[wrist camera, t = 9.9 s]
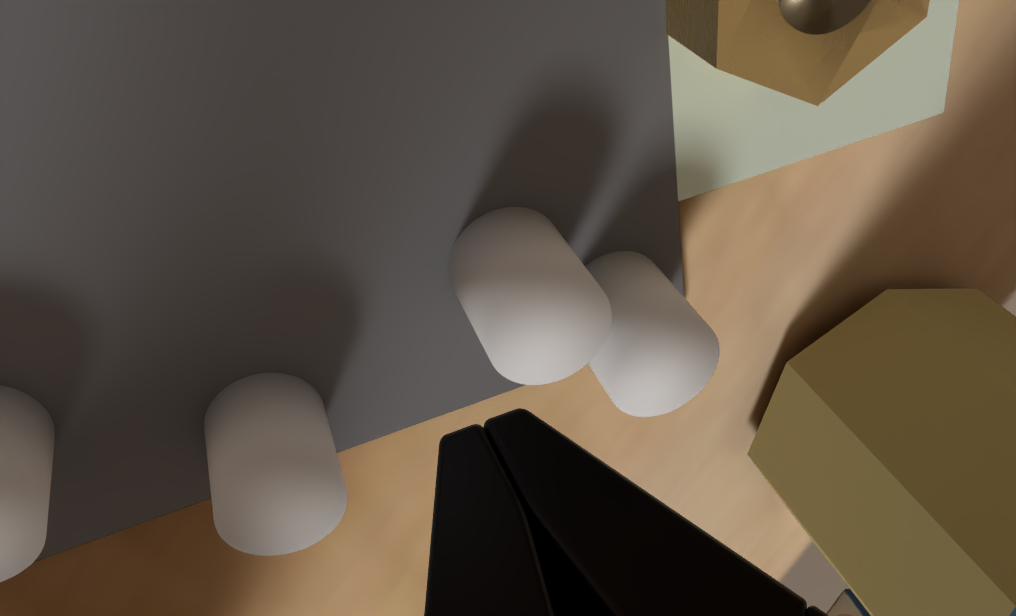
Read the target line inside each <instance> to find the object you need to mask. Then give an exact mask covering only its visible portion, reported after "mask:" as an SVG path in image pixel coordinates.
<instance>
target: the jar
mask: <svg viewBox="0 0 1016 616" xmlns="http://www.w3.org/2000/svg"><path fill="white" fill-rule="evenodd" d="M748 455H749V457H750V458H751V460H752V461H753V462H754V464H755V465H756V466H757V468H758V469H759V470H760V472H761V473H762V475H763V476H764V477H765V479H766V480H767V481H768V483H769V484H770V485H771V487H772V488H773V489H774V491H775V492H776V494H777V495H778V496H779V498H780V499H781V500H782V502H783V503H784V504H785V506H786V507H787V508H788V510H789V511H790V512H791V513H792V515H793V516H794V517H795V519H796V520H797V521H798V522H799V524H800V525H801V526H802V528H803V529H804V530H805V531H806V533H807V534H808V535H809V537H810V538H811V539H812V540H813V542H814V543H815V544H816V545H817V547H818V548H819V549H820V551H821V552H822V553H823V555H824V556H825V557H826V558H827V560H828V561H829V562H830V563H831V565H832V566H833V567H834V569H835V570H836V571H837V573H838V574H839V575H840V576H841V578H842V579H843V580H844V582H845V583H846V584H847V585H848V587H849V588H850V589H851V591H852V592H853V593H854V594H855V596H856V597H857V598H858V600H859V601H860V602H861V603H862V605H863V606H864V607H865V609H866V610H867V611H868V612H869V614H870V615H871V616H1016V317H1015V316H1014V315H1013V314H1011V313H1010V312H1009V311H1007V310H1006V309H1005V308H1003V307H1002V306H1001V305H999V304H998V303H996V302H995V301H994V300H992V299H991V298H990V297H988V296H987V295H986V294H984V293H983V292H982V291H980V290H979V289H887V290H885V291H884V292H883V293H881V294H880V295H878V296H877V297H876V298H874V299H873V300H872V301H870V302H869V303H867V304H866V305H865V306H863V307H862V308H860V309H859V310H858V311H856V312H855V313H854V314H852V315H851V316H849V317H848V318H847V319H845V320H844V321H843V322H841V323H840V324H838V325H837V326H836V327H834V328H833V329H832V330H830V331H829V332H827V333H826V334H825V335H823V336H822V337H821V338H819V339H818V340H816V341H815V342H814V343H812V344H811V345H810V346H808V347H807V348H805V349H804V350H803V351H801V352H800V353H799V354H797V355H796V356H794V357H793V358H792V359H790V360H789V361H788V362H787V363H786V365H785V367H784V370H783V372H782V374H781V377H780V379H779V381H778V384H777V386H776V388H775V391H774V393H773V395H772V398H771V400H770V402H769V405H768V407H767V409H766V412H765V414H764V416H763V419H762V421H761V423H760V426H759V428H758V430H757V433H756V435H755V437H754V440H753V442H752V444H751V447H750V449H749V451H748Z"/></svg>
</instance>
